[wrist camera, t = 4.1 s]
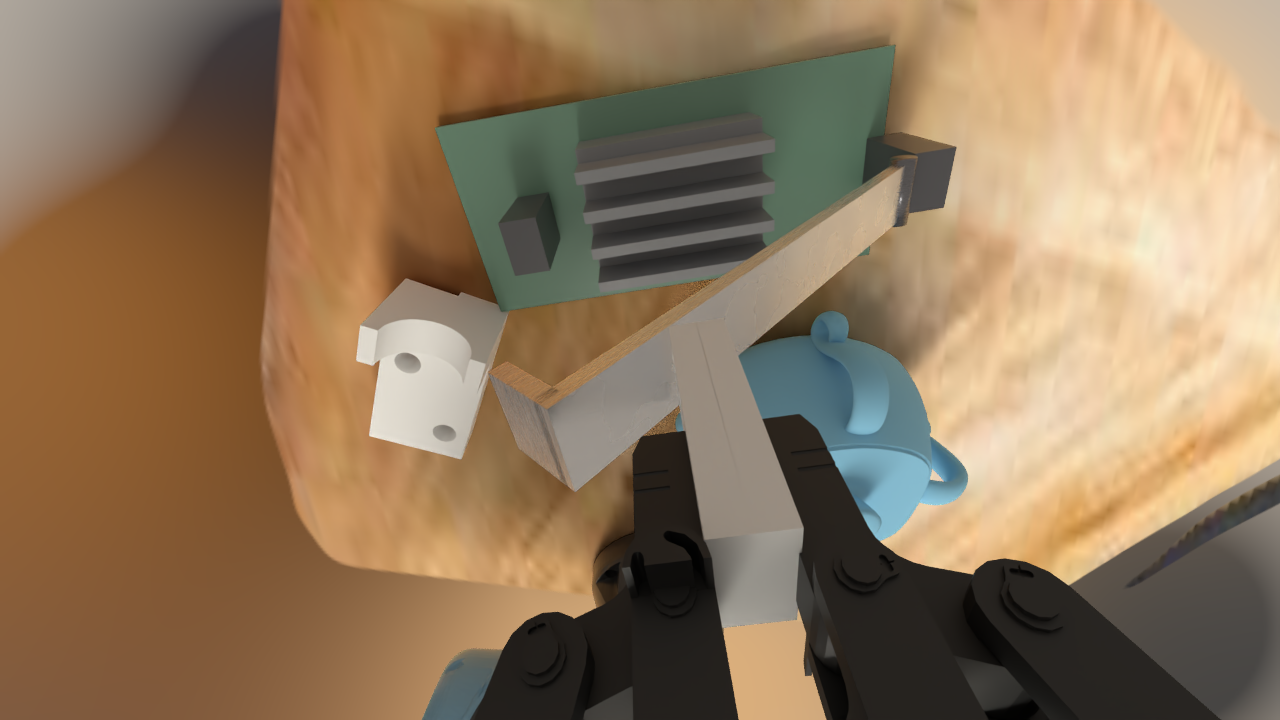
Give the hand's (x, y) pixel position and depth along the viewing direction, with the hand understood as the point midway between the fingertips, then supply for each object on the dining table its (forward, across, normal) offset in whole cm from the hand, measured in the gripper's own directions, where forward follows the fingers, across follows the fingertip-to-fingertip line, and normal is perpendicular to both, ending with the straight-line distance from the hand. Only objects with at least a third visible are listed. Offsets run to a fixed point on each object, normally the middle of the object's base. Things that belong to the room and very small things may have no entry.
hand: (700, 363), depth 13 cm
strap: (+7, -2, 0) cm, 8 cm away
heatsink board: (+20, -1, 0) cm, 20 cm away
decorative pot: (+20, -9, +18) cm, 29 cm away
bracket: (+20, +18, +10) cm, 29 cm away
